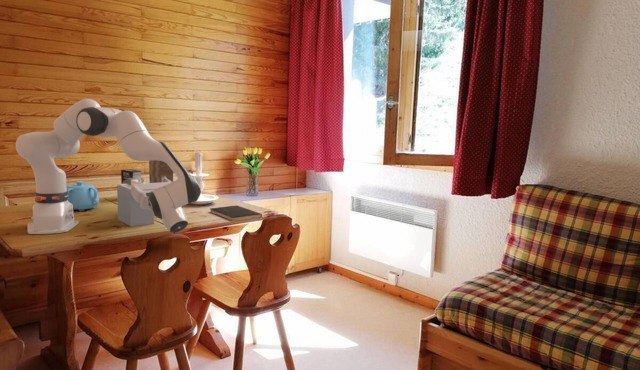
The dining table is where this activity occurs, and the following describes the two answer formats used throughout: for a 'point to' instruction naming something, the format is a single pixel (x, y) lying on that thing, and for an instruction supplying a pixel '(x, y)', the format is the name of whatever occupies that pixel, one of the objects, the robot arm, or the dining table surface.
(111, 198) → the dining table surface
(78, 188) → the decorative pot
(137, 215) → the paper box
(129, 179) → the marker
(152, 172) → the walnut stand
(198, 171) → the candlestick
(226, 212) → the hardcover book
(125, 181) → the coffee box
